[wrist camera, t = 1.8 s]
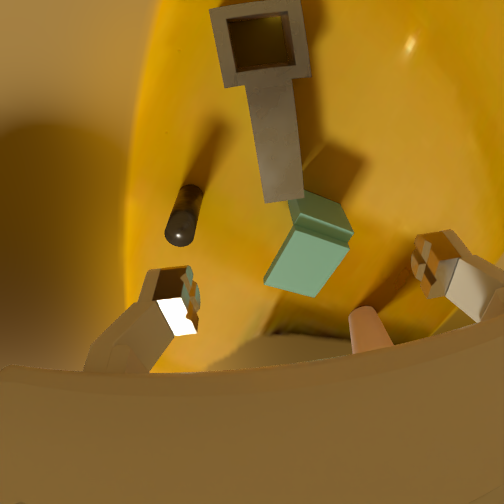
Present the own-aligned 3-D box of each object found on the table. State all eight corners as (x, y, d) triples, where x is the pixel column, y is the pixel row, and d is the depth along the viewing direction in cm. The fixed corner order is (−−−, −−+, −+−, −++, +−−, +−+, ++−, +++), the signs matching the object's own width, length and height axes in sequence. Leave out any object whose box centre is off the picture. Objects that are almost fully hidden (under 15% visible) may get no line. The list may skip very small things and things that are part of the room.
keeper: (261, 245, 31) (263, 284, 26) (292, 185, 27) (302, 218, 22) (305, 259, 32) (314, 297, 28) (340, 204, 28) (356, 238, 24)
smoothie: (369, 331, 41) (394, 421, 30) (330, 327, 40) (350, 425, 29) (393, 301, 37) (428, 396, 26) (352, 295, 36) (383, 400, 25)
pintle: (199, 182, 26) (189, 219, 22) (205, 204, 28) (197, 244, 23) (175, 186, 26) (160, 224, 22) (182, 207, 28) (169, 248, 23)
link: (214, 14, 17) (208, 9, 14) (290, 4, 17) (300, -3, 14) (247, 182, 26) (247, 205, 23) (311, 173, 26) (321, 195, 23)
